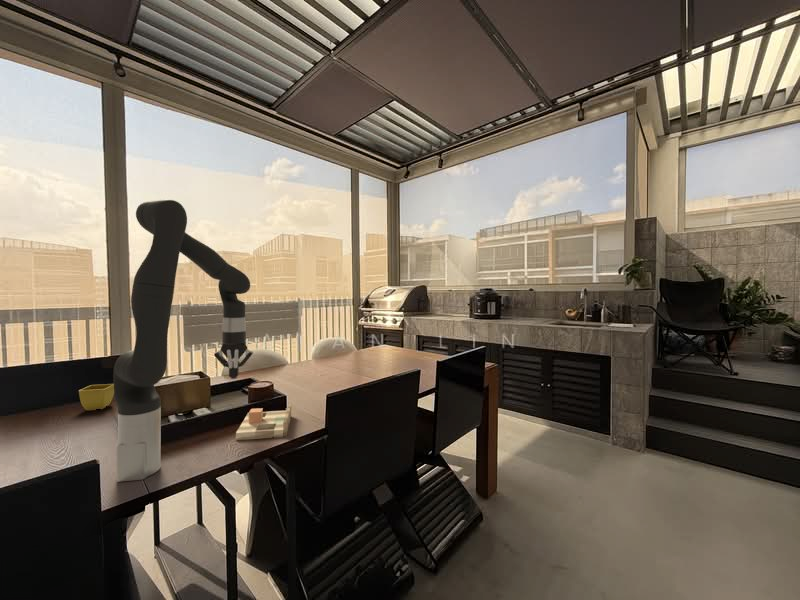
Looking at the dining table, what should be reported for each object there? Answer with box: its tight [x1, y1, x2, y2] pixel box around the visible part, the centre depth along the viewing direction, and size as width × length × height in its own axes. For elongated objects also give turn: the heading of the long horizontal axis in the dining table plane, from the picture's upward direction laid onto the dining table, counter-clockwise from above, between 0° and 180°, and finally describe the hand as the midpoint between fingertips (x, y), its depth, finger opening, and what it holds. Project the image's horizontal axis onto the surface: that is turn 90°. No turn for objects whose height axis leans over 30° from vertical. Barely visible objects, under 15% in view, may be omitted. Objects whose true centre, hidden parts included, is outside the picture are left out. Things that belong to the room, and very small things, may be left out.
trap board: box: [235, 403, 292, 441], centre depth 123 cm, size 19×16×5 cm
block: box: [248, 407, 264, 424], centre depth 122 cm, size 4×4×4 cm
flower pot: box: [78, 383, 114, 411], centre depth 138 cm, size 9×9×9 cm
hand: (233, 378), depth 120 cm, fingers closed
